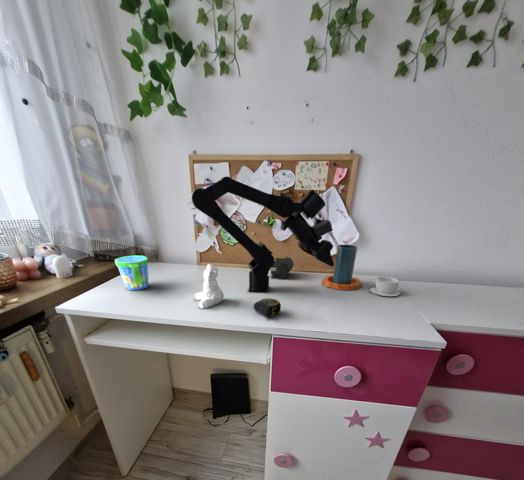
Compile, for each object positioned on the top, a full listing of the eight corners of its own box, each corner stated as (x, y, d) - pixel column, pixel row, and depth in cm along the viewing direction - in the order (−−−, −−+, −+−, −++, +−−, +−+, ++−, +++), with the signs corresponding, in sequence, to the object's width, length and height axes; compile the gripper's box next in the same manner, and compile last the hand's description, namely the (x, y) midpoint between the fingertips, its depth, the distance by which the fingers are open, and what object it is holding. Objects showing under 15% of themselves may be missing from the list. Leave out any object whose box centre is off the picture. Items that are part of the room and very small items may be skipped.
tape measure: (252, 312, 81) (252, 300, 79) (271, 307, 84) (271, 296, 82) (265, 320, 76) (266, 308, 74) (285, 315, 79) (285, 303, 77)
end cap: (287, 280, 108) (288, 262, 105) (270, 278, 110) (271, 261, 107) (293, 273, 116) (294, 257, 113) (277, 272, 118) (277, 256, 115)
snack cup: (155, 292, 95) (148, 262, 90) (122, 296, 92) (113, 265, 86) (151, 279, 107) (146, 253, 102) (122, 282, 104) (115, 255, 98)
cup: (342, 288, 100) (348, 249, 93) (328, 284, 105) (333, 245, 97) (354, 285, 103) (361, 246, 96) (340, 281, 108) (346, 243, 101)
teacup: (365, 292, 97) (367, 279, 94) (376, 286, 103) (379, 273, 101) (393, 299, 91) (397, 286, 88) (403, 292, 97) (407, 279, 95)
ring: (325, 289, 100) (325, 284, 99) (321, 278, 111) (322, 274, 110) (363, 290, 99) (363, 286, 98) (355, 279, 110) (356, 275, 109)
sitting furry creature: (194, 298, 90) (189, 261, 84) (219, 295, 93) (217, 259, 87) (200, 309, 83) (196, 269, 76) (228, 305, 86) (225, 266, 79)
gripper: (331, 213, 82) (357, 250, 89) (309, 208, 97) (333, 240, 105) (304, 242, 84) (332, 275, 92) (286, 232, 100) (311, 262, 108)
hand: (327, 262), depth 99 cm, fingers open, 9 cm apart
